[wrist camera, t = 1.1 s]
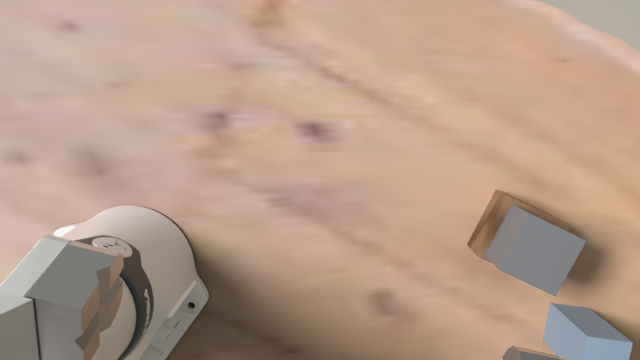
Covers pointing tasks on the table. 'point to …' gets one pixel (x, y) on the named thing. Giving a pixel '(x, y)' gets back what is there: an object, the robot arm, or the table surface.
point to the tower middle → (534, 250)
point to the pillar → (583, 335)
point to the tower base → (495, 217)
